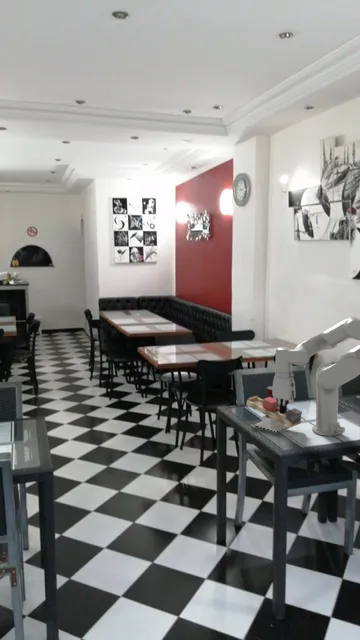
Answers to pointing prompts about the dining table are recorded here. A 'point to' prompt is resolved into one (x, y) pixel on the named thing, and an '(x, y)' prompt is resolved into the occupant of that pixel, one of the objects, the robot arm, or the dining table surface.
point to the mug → (270, 392)
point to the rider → (270, 404)
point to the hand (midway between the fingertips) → (283, 413)
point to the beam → (276, 412)
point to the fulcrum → (271, 424)
